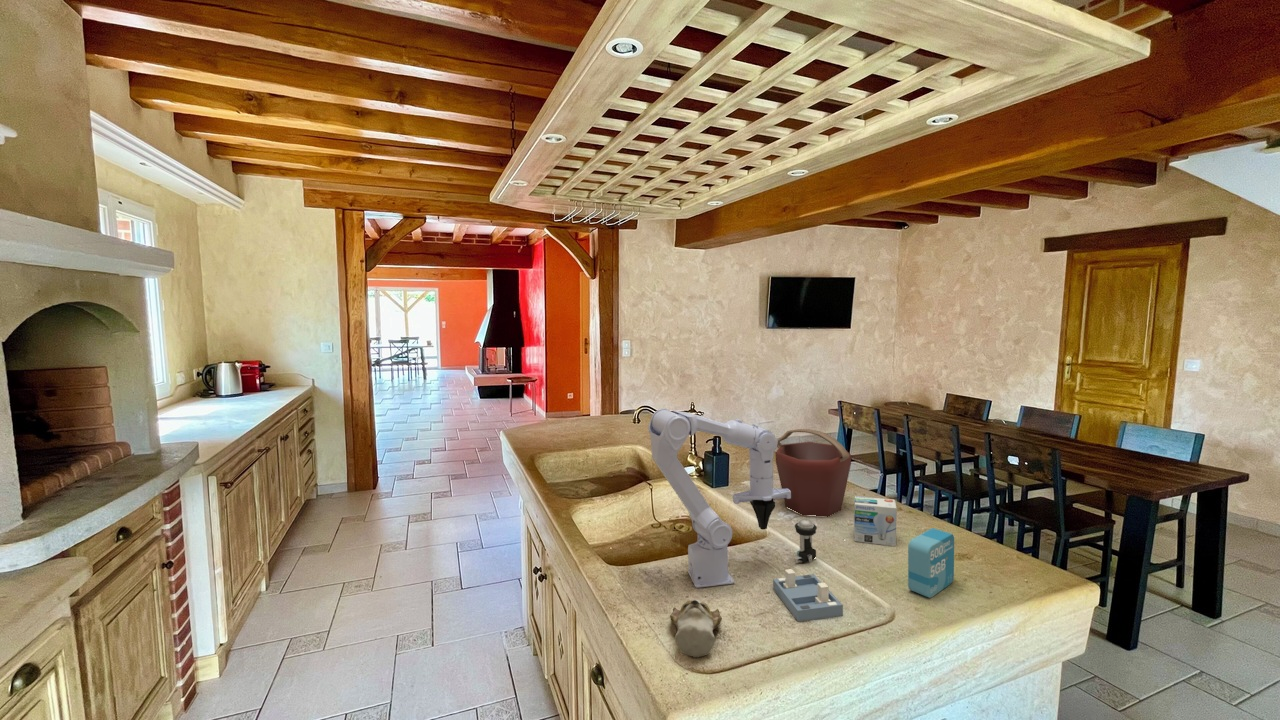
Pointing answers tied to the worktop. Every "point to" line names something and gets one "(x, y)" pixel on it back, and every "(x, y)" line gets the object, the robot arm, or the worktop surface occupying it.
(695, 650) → the ceramic sculpture
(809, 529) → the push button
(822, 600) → the tab near
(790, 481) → the bucket
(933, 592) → the data package
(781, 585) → the dip bank
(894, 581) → the worktop surface
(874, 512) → the light bulb box
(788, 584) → the tab far
